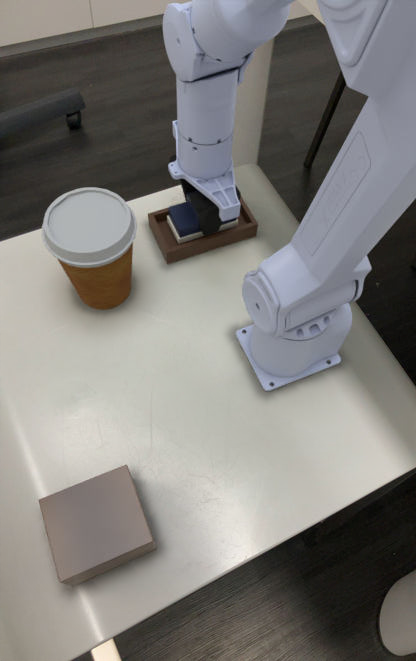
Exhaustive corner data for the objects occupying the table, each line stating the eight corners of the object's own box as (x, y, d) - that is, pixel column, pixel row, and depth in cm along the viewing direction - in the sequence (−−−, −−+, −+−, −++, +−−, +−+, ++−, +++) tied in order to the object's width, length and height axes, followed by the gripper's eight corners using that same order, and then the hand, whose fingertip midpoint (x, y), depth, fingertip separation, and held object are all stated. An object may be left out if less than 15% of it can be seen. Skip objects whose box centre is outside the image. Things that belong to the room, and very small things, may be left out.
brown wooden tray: (234, 200, 69) (236, 187, 67) (256, 236, 66) (258, 224, 64) (148, 225, 66) (147, 213, 64) (167, 264, 63) (166, 252, 61)
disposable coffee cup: (130, 246, 64) (118, 174, 54) (155, 306, 60) (148, 240, 50) (55, 269, 62) (28, 197, 52) (76, 332, 58) (51, 269, 48)
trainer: (224, 203, 66) (227, 174, 62) (237, 226, 65) (241, 197, 60) (167, 221, 65) (165, 192, 60) (178, 244, 63) (178, 216, 59)
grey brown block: (132, 477, 50) (126, 463, 46) (157, 548, 47) (153, 541, 43) (51, 510, 49) (38, 499, 44) (71, 586, 45) (59, 582, 41)
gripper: (144, 92, 54) (152, 187, 66) (196, 185, 48) (195, 271, 60) (205, 77, 56) (203, 172, 68) (264, 165, 50) (250, 253, 61)
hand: (203, 218), depth 64 cm, fingers closed on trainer, 4 cm apart
